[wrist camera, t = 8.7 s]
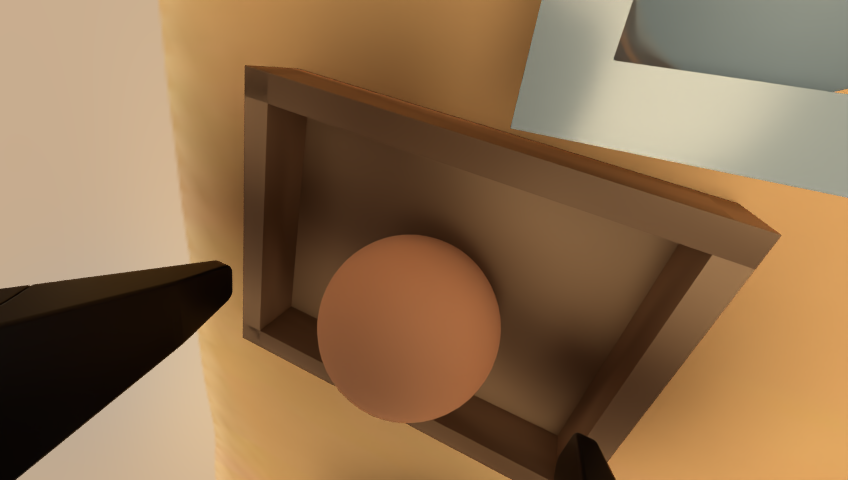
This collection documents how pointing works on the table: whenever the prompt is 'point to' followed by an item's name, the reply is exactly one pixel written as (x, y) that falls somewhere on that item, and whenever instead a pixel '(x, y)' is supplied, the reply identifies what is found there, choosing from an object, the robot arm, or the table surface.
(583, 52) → the stand
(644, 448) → the table surface
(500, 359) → the tray
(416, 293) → the ball
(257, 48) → the table surface
